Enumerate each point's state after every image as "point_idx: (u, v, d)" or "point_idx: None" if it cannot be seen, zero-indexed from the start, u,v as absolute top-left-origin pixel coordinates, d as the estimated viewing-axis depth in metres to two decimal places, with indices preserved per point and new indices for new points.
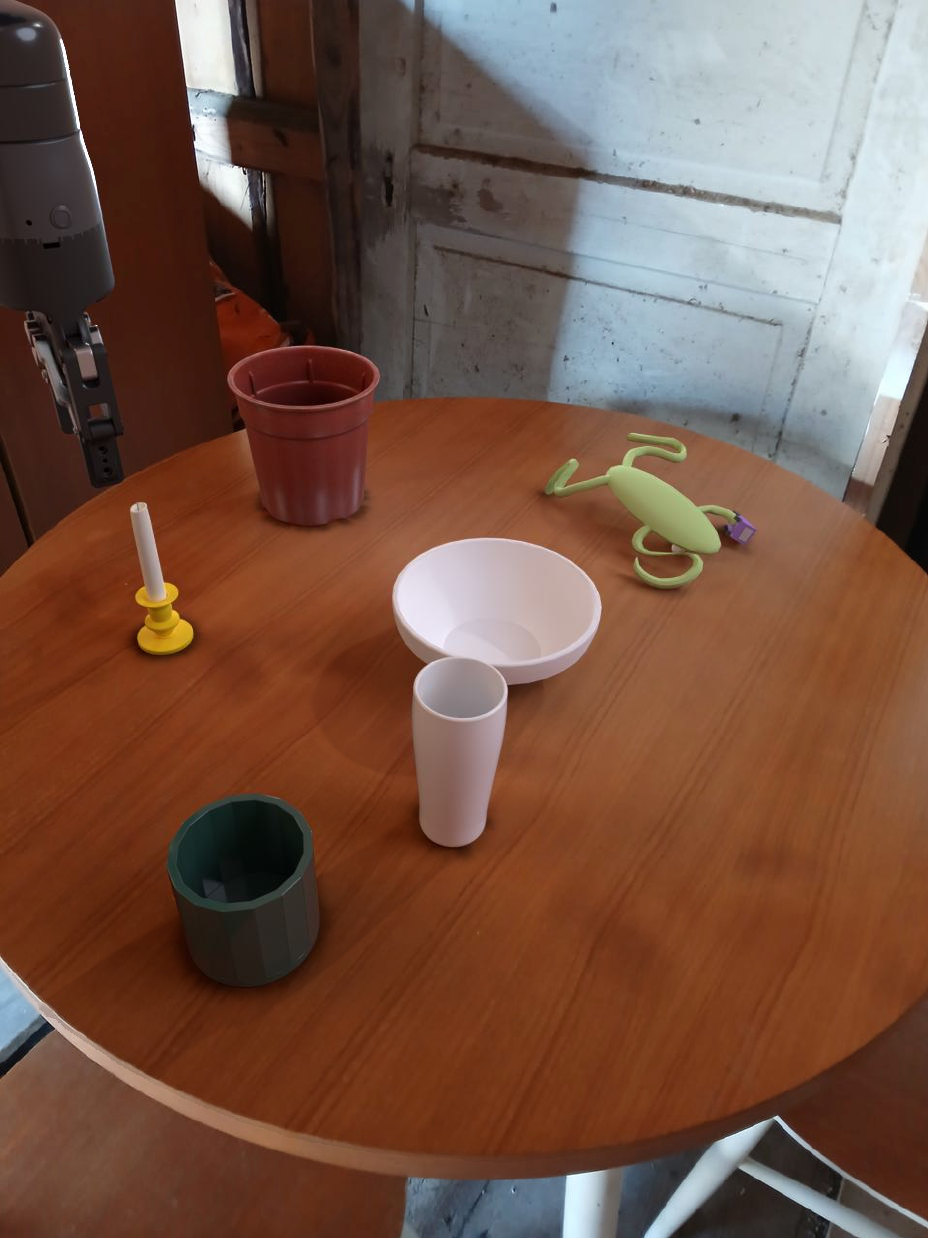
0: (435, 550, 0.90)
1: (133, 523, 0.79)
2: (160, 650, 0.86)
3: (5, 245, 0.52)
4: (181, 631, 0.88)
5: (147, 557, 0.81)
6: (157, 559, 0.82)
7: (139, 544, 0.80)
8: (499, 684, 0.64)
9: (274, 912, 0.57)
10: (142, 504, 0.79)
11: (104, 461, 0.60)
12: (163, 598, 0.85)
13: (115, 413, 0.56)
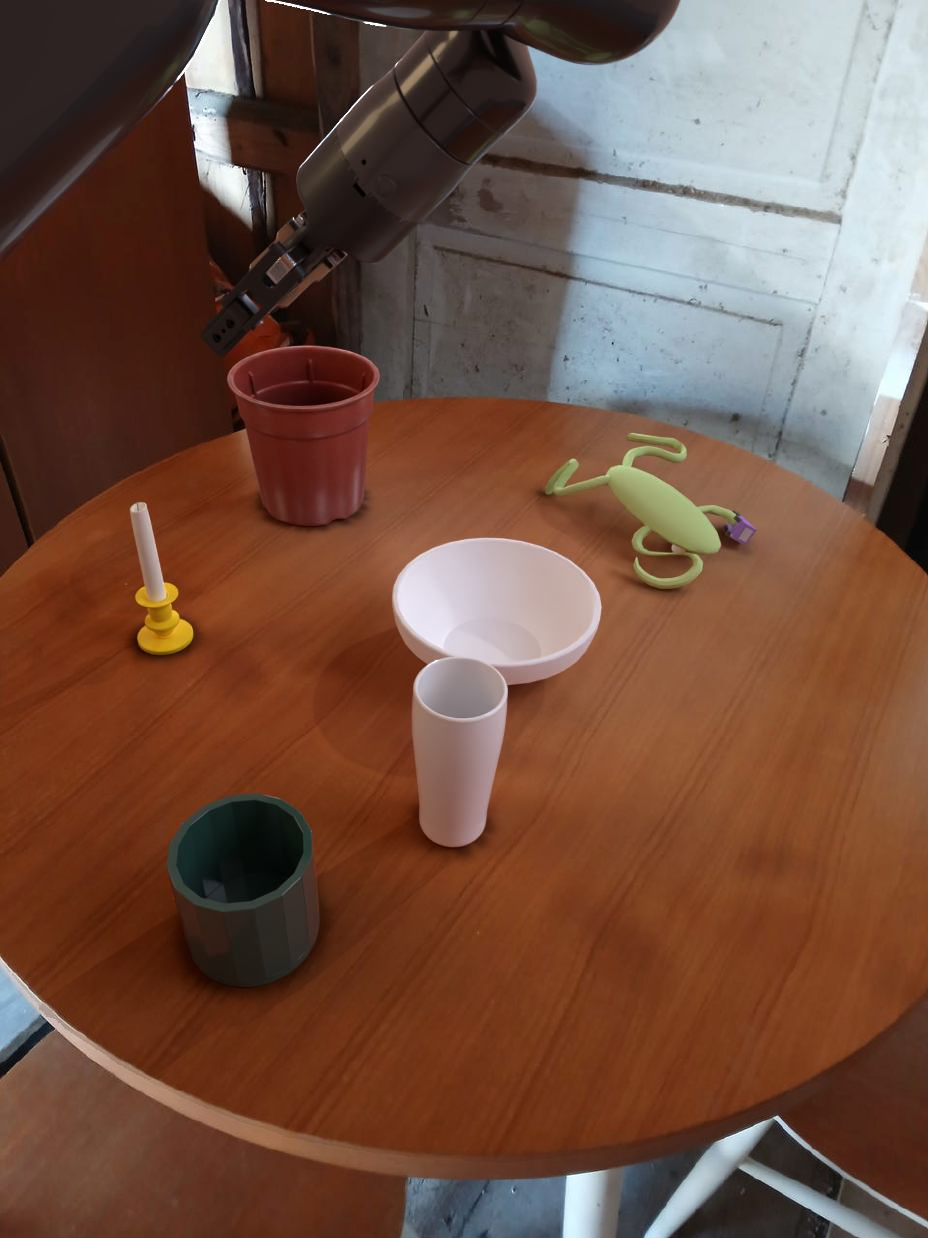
0: (435, 550, 0.90)
1: (133, 523, 0.79)
2: (160, 650, 0.86)
3: (337, 154, 0.54)
4: (181, 631, 0.88)
5: (147, 557, 0.81)
6: (157, 559, 0.82)
7: (139, 544, 0.80)
8: (499, 684, 0.64)
9: (274, 912, 0.57)
10: (142, 504, 0.79)
11: (223, 331, 0.61)
12: (163, 598, 0.85)
13: (257, 315, 0.57)
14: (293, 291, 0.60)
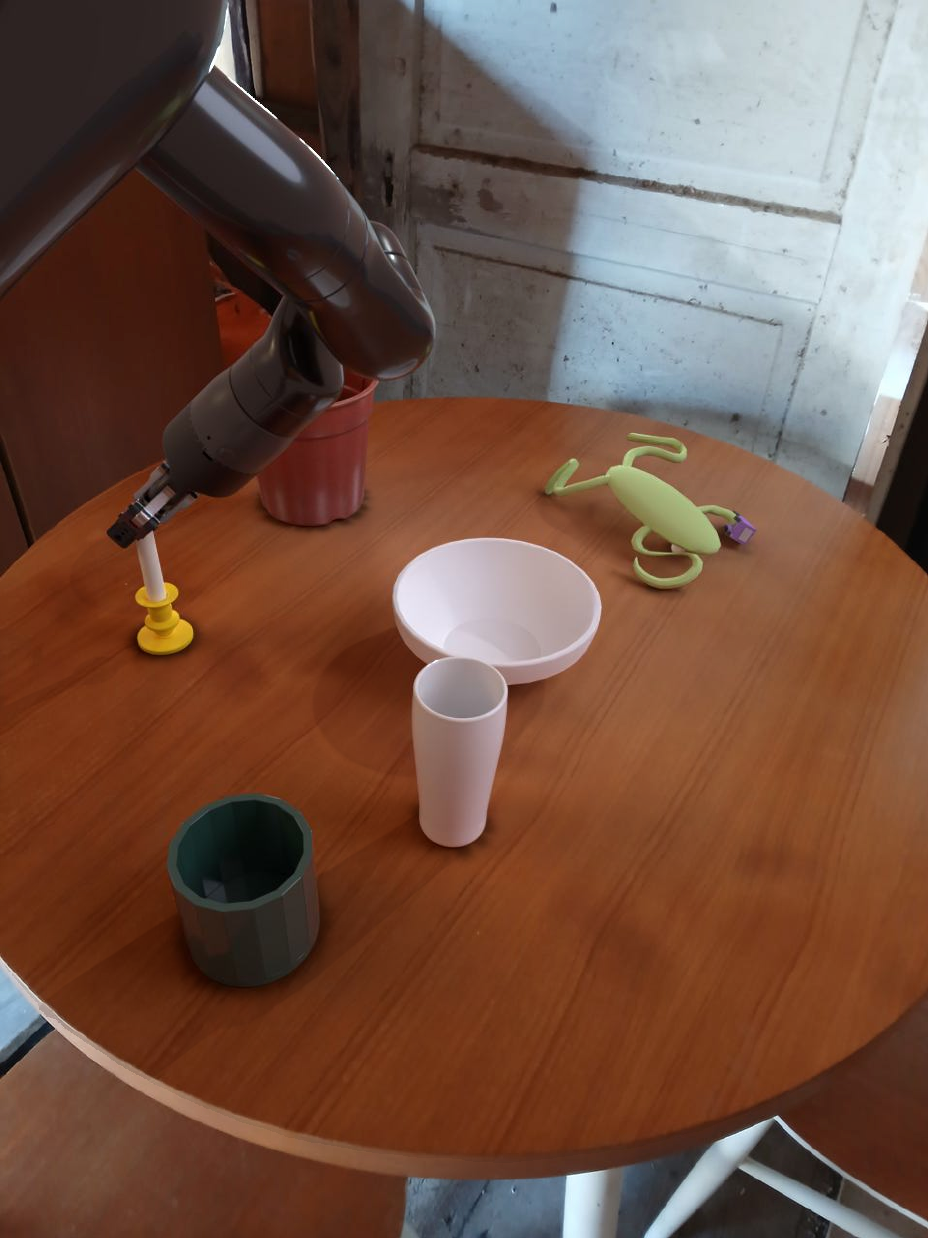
0: (435, 550, 0.90)
1: None
2: (160, 650, 0.86)
3: (189, 428, 0.69)
4: (181, 631, 0.88)
5: (147, 557, 0.81)
6: (157, 559, 0.82)
7: (139, 544, 0.80)
8: (499, 684, 0.64)
9: (274, 912, 0.57)
10: None
11: (123, 533, 0.78)
12: (163, 598, 0.85)
13: (138, 537, 0.75)
14: (167, 515, 0.76)
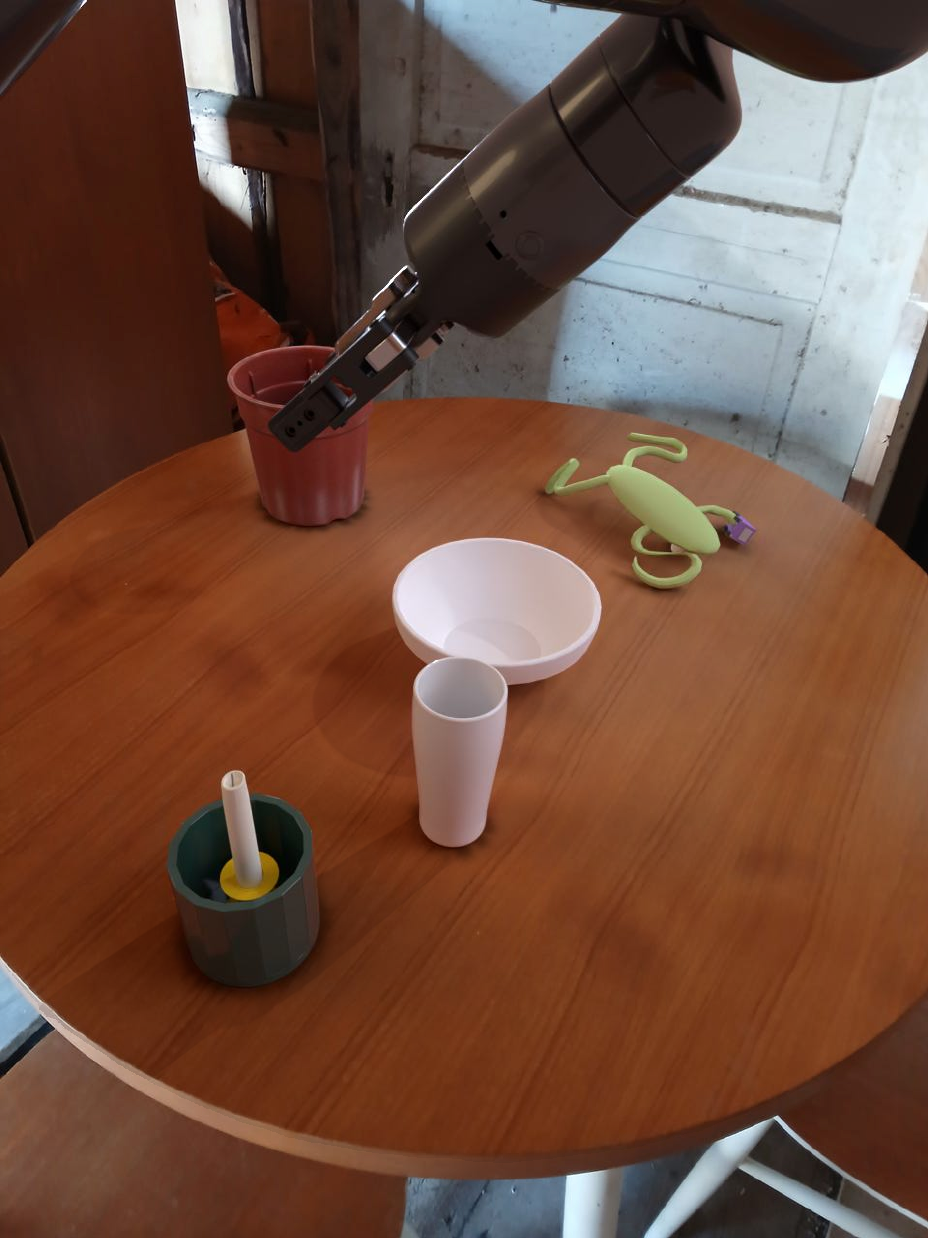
0: (435, 550, 0.90)
1: (225, 801, 0.55)
2: None
3: (465, 202, 0.41)
4: None
5: (242, 840, 0.57)
6: (255, 838, 0.58)
7: (232, 825, 0.56)
8: (499, 684, 0.64)
9: (274, 912, 0.57)
10: (237, 774, 0.55)
11: (299, 423, 0.47)
12: (259, 882, 0.60)
13: (350, 410, 0.44)
14: None
